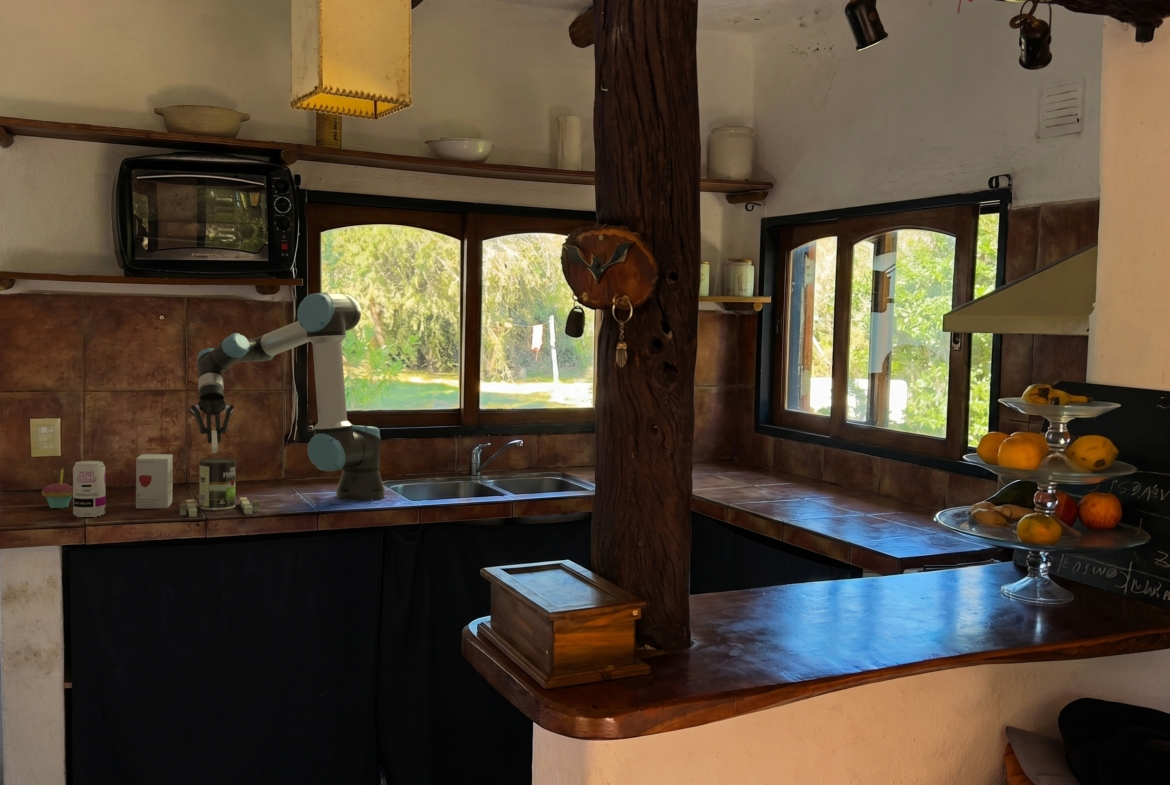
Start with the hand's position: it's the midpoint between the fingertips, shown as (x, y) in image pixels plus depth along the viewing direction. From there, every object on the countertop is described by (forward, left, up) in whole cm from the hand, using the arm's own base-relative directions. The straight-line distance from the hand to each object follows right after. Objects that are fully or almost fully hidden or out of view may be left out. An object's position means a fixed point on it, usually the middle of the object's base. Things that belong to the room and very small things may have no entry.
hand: (214, 450), depth 312 cm
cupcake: (+42, +6, -16) cm, 46 cm away
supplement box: (+16, +6, -16) cm, 24 cm away
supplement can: (+31, +19, -16) cm, 40 cm away
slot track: (-3, +14, -16) cm, 21 cm away
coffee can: (-2, +9, -16) cm, 19 cm away
